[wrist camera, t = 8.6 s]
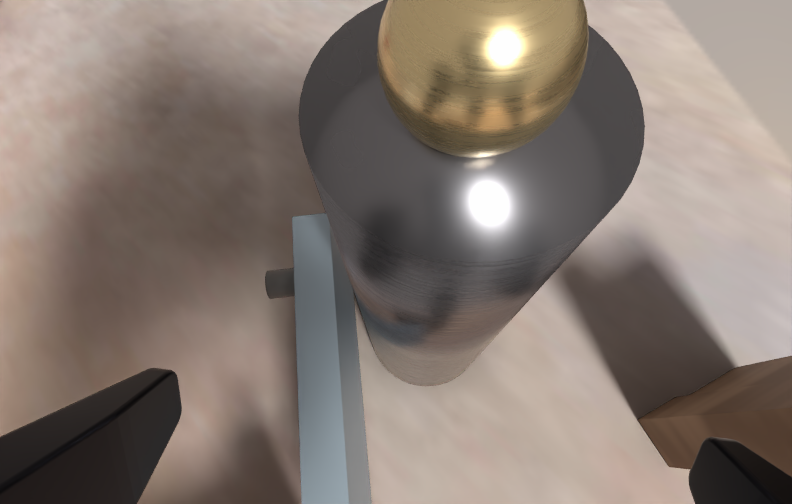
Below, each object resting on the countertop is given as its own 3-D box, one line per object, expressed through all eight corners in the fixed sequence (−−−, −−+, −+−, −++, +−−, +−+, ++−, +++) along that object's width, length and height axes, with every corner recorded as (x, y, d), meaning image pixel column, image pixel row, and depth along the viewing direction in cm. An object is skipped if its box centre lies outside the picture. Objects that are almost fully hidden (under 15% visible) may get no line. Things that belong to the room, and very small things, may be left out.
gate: (379, 589, 16) (361, 686, 10) (308, 598, 16) (245, 703, 10) (352, 281, 21) (328, 212, 15) (297, 288, 21) (248, 221, 15)
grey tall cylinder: (501, 353, 20) (879, 27, 4) (401, 407, 19) (386, 262, 3) (446, 260, 22) (560, -223, 6) (352, 306, 21) (187, -108, 5)
